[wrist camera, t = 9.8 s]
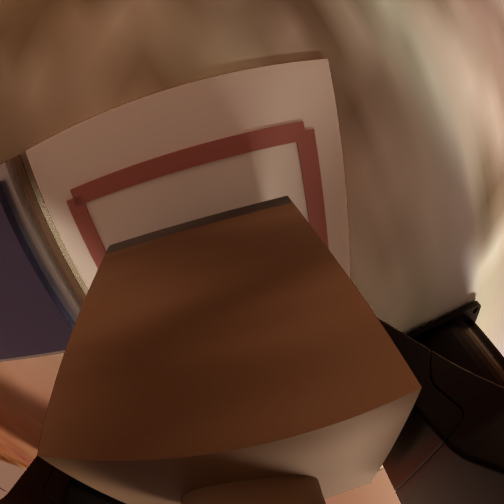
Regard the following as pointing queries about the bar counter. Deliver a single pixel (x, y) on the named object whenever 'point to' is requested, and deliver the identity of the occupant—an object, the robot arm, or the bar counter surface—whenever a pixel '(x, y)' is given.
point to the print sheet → (198, 160)
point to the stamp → (226, 369)
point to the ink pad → (31, 275)
